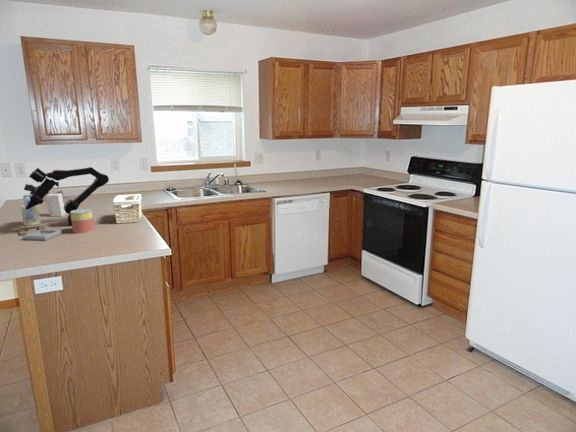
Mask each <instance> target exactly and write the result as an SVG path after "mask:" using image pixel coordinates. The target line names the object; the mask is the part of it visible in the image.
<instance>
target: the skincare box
mask: <svg viewBox="0 0 576 432" xmlns="http://www.w3.org/2000/svg"><path fill="white" fill-rule="evenodd" d="M45 199H46V203H47V207H48V213H49V217H63V216H65V215H67V214H66V211H65V210H64V205H65V202H64V197H63V194H62V193H48V194H46V195H45Z"/></svg>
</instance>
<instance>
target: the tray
mask: <svg viewBox="0 0 576 432" xmlns="http://www.w3.org/2000/svg"><path fill="white" fill-rule="evenodd" d="M60 235H63V232H62V230H61V229H45V230H39V229H38V230H35V231H33V232H30V233H26V235H22V239H23V241H43V242H44V241H48V240H51V239H53V238H55V237H57V236H60Z"/></svg>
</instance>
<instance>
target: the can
mask: <svg viewBox="0 0 576 432" xmlns="http://www.w3.org/2000/svg"><path fill="white" fill-rule="evenodd" d="M32 208H33V214H34V217H35V218H36V222H28V223H26V219H25V218H27V217H26V211H25V205H21V206H20V209H21V215H22V220H23V226H37V225H39V224H41V223H42V222H41V217H40V210H39V209H40V208H39V204H38V205H36V206H34V207H32Z"/></svg>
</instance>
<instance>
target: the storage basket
mask: <svg viewBox="0 0 576 432" xmlns="http://www.w3.org/2000/svg"><path fill="white" fill-rule="evenodd" d="M142 198H143V197H142V194H141V193H136V194H135V193H134V194H120V195H119V194H118V195H116V196H115V197H113V200H112V208H113V210H114V218H115V223H116V224H126V223H127V224H128V223H130V224H131V223H138V222H139V223H140V221H141V219H142V215H143V213H142V212H143V211H142Z"/></svg>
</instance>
